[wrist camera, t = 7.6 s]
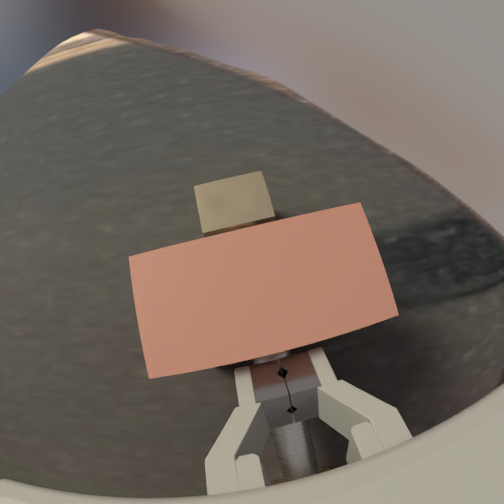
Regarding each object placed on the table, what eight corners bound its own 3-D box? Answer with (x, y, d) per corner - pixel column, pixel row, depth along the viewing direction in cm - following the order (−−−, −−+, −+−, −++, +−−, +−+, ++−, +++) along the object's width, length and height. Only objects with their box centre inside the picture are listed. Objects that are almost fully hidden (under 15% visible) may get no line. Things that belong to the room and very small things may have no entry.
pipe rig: (336, 498, 16) (353, 529, 11) (280, 513, 15) (284, 548, 11) (261, 206, 22) (261, 170, 18) (206, 219, 22) (193, 186, 17)
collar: (329, 333, 19) (398, 315, 9) (206, 364, 19) (149, 378, 9) (312, 275, 20) (360, 202, 10) (192, 303, 20) (128, 256, 10)
